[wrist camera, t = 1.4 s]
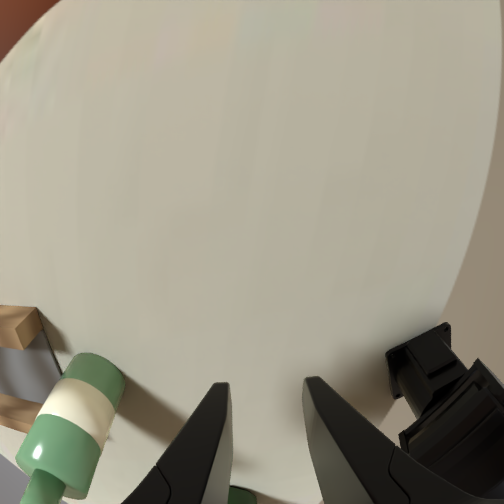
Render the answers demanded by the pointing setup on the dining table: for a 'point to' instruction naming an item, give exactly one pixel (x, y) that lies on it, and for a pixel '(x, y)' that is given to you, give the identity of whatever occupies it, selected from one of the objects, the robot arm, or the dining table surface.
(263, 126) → the dining table surface
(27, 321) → the cradle
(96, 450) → the bottle
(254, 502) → the bottle
